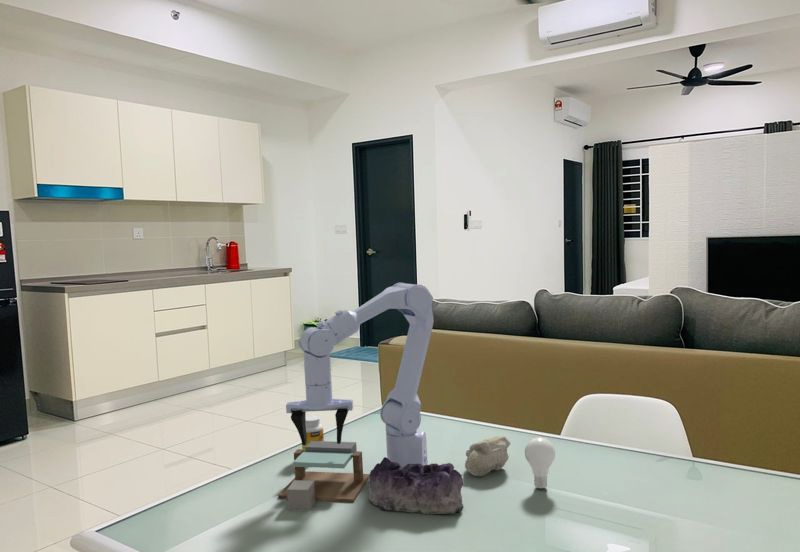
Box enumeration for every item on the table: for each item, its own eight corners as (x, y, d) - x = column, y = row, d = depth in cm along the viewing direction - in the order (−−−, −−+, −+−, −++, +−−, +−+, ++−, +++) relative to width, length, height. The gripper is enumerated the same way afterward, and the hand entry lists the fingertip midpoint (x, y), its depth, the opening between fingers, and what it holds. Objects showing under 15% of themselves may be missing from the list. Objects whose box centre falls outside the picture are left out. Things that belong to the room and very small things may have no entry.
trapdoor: (358, 451, 137) (357, 442, 137) (344, 469, 126) (344, 459, 126) (310, 449, 139) (309, 440, 139) (293, 467, 129) (292, 457, 129)
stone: (315, 501, 125) (314, 480, 125) (309, 511, 121) (308, 489, 120) (295, 500, 126) (294, 480, 125) (288, 510, 121) (286, 489, 121)
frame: (369, 476, 136) (368, 447, 136) (353, 502, 124) (352, 469, 123) (300, 473, 140) (299, 444, 139) (278, 498, 127) (276, 466, 127)
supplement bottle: (311, 463, 146) (308, 423, 145) (298, 458, 150) (296, 418, 149) (329, 456, 150) (327, 417, 149) (316, 451, 154) (314, 413, 153)
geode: (361, 518, 117) (358, 467, 117) (374, 500, 128) (371, 453, 129) (464, 518, 113) (460, 465, 114) (467, 498, 125) (464, 451, 125)
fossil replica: (456, 478, 134) (498, 488, 129) (456, 444, 132) (498, 453, 128) (475, 455, 144) (514, 464, 140) (475, 423, 143) (515, 431, 138)
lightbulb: (558, 484, 128) (557, 434, 127) (553, 496, 122) (551, 444, 121) (529, 480, 130) (527, 431, 129) (522, 492, 124) (521, 441, 124)
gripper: (353, 376, 133) (356, 435, 134) (289, 379, 133) (292, 437, 134) (350, 384, 126) (353, 446, 127) (282, 387, 126) (286, 449, 127)
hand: (321, 442), depth 130 cm, fingers open, 7 cm apart
